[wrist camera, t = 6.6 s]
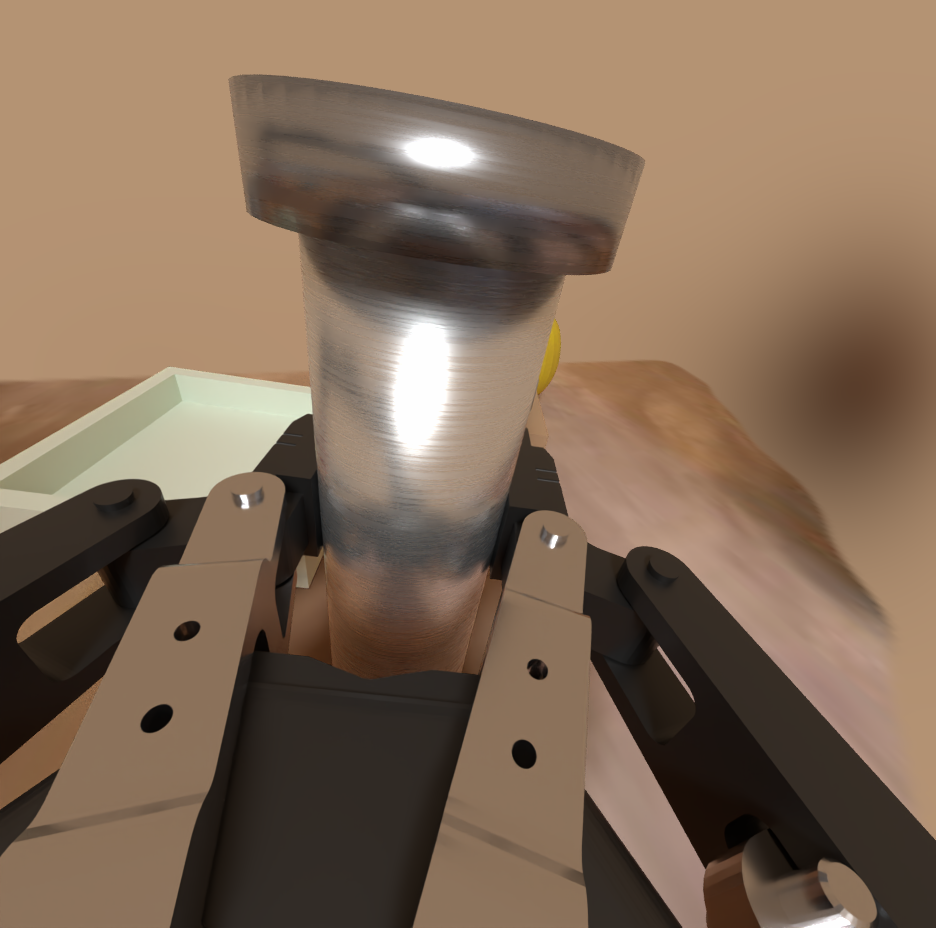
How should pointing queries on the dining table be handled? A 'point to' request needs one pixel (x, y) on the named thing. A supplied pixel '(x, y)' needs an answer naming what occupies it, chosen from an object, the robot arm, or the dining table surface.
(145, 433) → the tray
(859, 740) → the dining table surface
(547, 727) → the robot arm
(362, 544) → the pin
